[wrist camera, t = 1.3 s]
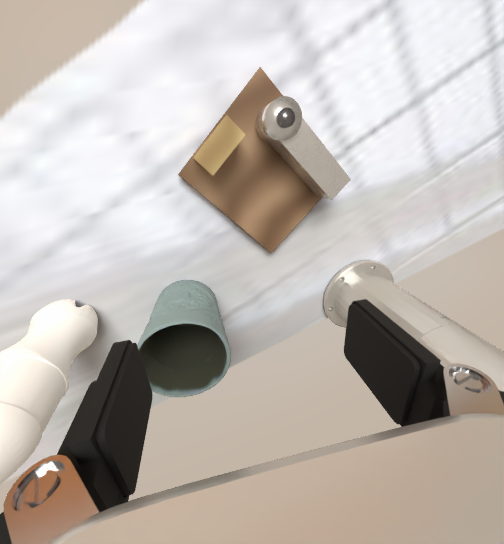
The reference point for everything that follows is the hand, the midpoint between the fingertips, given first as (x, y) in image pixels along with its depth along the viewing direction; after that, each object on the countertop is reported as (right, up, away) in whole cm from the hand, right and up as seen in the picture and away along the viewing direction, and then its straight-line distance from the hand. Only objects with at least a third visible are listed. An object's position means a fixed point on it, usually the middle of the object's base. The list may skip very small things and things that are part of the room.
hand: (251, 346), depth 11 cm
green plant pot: (-10, -1, +26) cm, 28 cm away
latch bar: (+5, +17, +19) cm, 26 cm away
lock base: (+2, +16, +21) cm, 26 cm away
